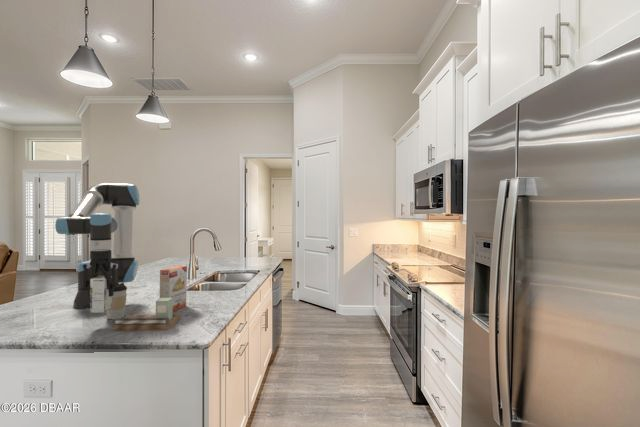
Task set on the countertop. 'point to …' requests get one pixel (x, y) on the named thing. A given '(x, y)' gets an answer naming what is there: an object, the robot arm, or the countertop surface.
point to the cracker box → (174, 285)
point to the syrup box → (98, 295)
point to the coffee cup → (118, 302)
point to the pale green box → (164, 308)
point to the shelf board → (144, 322)
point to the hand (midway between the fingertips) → (101, 303)
